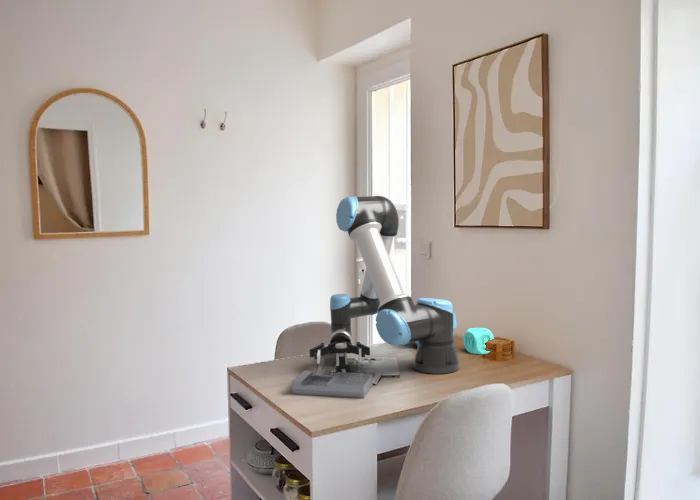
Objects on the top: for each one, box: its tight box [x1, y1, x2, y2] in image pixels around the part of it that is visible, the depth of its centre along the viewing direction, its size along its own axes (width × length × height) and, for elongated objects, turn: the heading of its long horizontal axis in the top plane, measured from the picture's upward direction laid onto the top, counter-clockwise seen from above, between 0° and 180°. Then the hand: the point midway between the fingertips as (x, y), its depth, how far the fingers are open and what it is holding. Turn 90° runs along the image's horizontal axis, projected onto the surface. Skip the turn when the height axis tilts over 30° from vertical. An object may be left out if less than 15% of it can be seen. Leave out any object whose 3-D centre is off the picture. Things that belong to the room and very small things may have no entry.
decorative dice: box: [463, 327, 495, 355], centre depth 204 cm, size 8×8×8 cm
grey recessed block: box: [291, 370, 374, 399], centre depth 168 cm, size 22×11×4 cm, turn 75°
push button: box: [330, 343, 351, 376], centre depth 182 cm, size 7×5×10 cm
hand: (339, 358), depth 179 cm, fingers open, 13 cm apart
